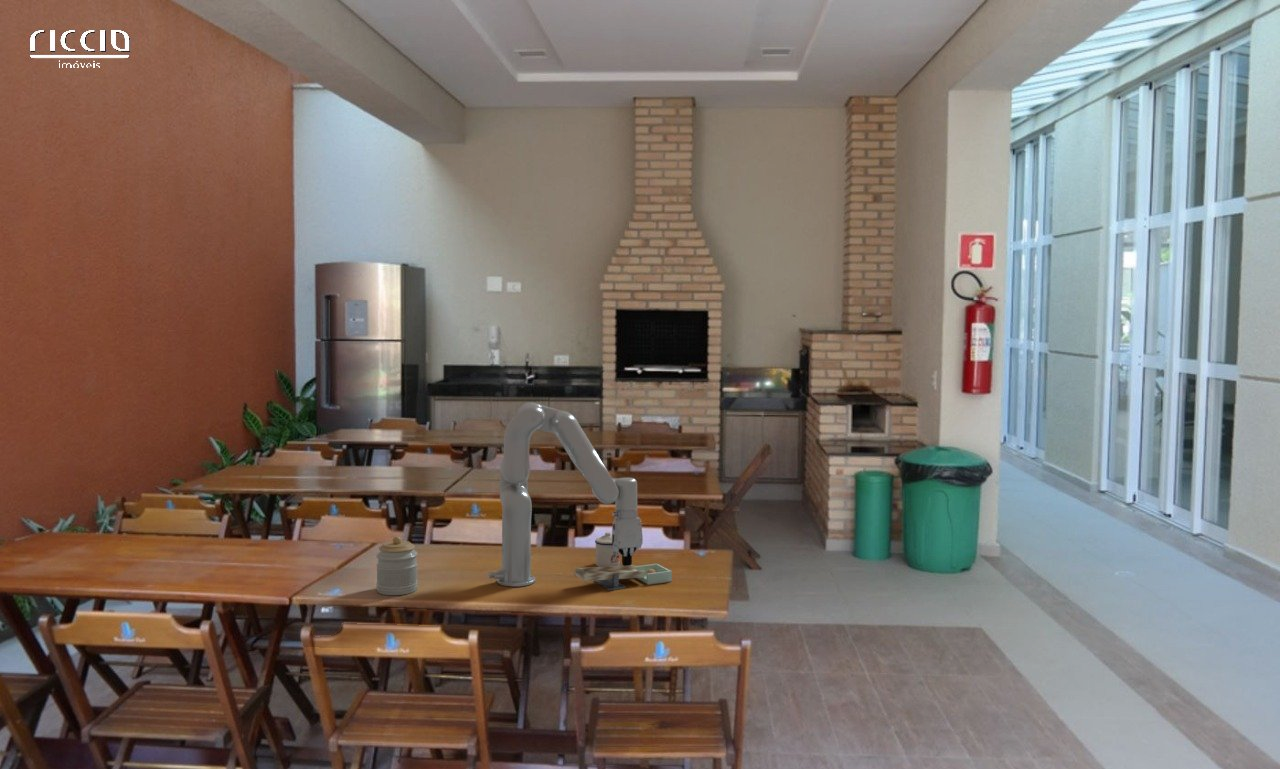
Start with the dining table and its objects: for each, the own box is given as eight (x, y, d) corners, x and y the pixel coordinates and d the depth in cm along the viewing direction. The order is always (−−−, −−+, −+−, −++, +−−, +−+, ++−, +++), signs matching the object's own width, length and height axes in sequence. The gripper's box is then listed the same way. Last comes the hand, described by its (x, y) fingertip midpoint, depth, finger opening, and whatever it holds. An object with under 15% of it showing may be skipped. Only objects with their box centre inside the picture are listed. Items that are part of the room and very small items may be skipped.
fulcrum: (609, 590, 307) (609, 576, 306) (594, 581, 317) (594, 567, 317) (625, 588, 309) (625, 574, 309) (610, 578, 320) (610, 565, 320)
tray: (647, 584, 314) (647, 574, 314) (633, 576, 323) (633, 566, 323) (671, 581, 318) (671, 571, 318) (657, 573, 327) (657, 563, 327)
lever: (584, 580, 304) (584, 572, 304) (568, 570, 316) (569, 563, 316) (644, 577, 315) (645, 569, 314) (627, 567, 326) (627, 560, 326)
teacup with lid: (614, 569, 332) (615, 536, 332) (591, 566, 335) (591, 534, 335) (626, 560, 344) (626, 529, 343) (603, 558, 347) (603, 527, 346)
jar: (407, 597, 297) (407, 542, 295) (369, 594, 299) (368, 540, 298) (424, 585, 309) (424, 532, 308) (387, 583, 312) (386, 530, 310)
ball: (655, 568, 319) (658, 576, 320) (651, 566, 322) (654, 574, 323) (647, 573, 318) (651, 581, 319) (643, 570, 321) (646, 578, 321)
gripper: (611, 518, 315) (612, 572, 317) (650, 513, 322) (651, 566, 324) (602, 514, 322) (602, 566, 324) (640, 509, 329) (641, 561, 330)
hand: (626, 566), depth 324 cm, fingers closed
